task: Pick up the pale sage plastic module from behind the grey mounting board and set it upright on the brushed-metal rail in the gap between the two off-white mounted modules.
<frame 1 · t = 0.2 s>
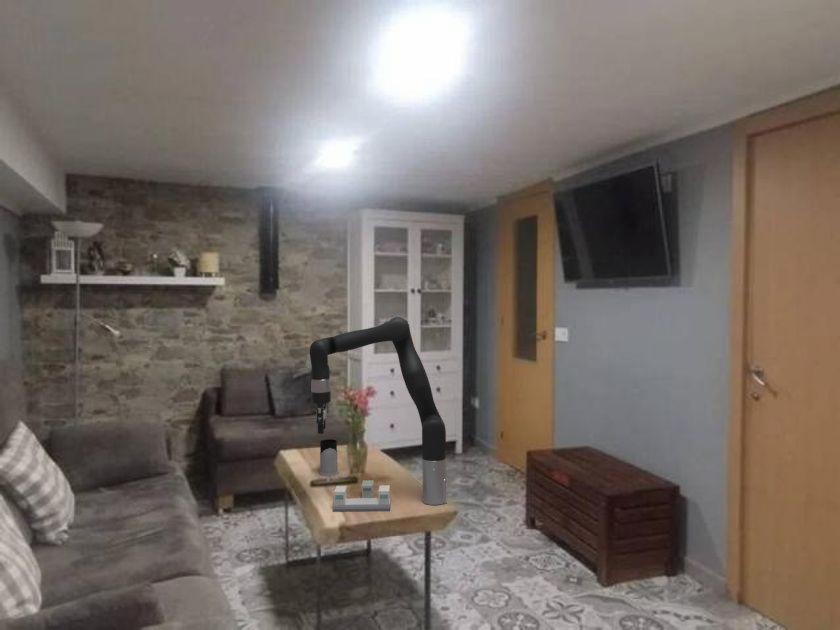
hand: (321, 431, 234), 28 cm above the table, fingers open, 8 cm apart
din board: (362, 505, 231), on the table
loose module: (367, 495, 244), on the table
glass holder: (328, 472, 277), on the table
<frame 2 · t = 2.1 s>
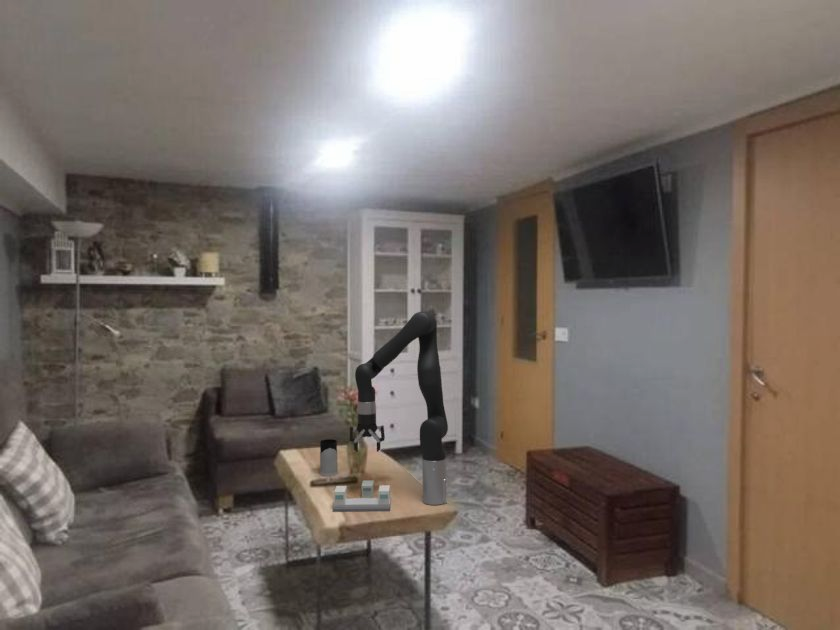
hand: (367, 451, 244), 18 cm above the table, fingers open, 8 cm apart
nothing on the table moved.
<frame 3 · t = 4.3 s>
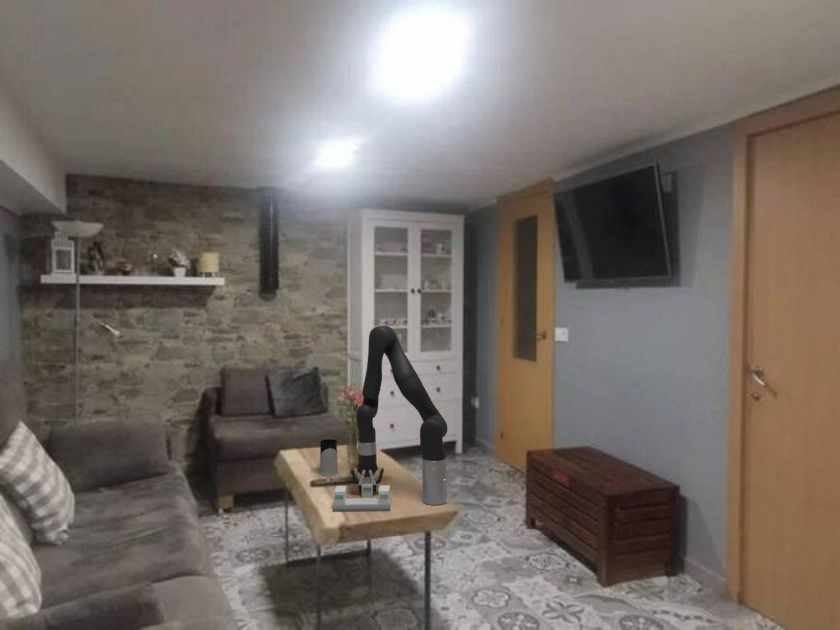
hand: (367, 493, 244), 1 cm above the table, fingers closed on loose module, 4 cm apart
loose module: (367, 494, 245), on the table, touching gripper
everything else where it was.
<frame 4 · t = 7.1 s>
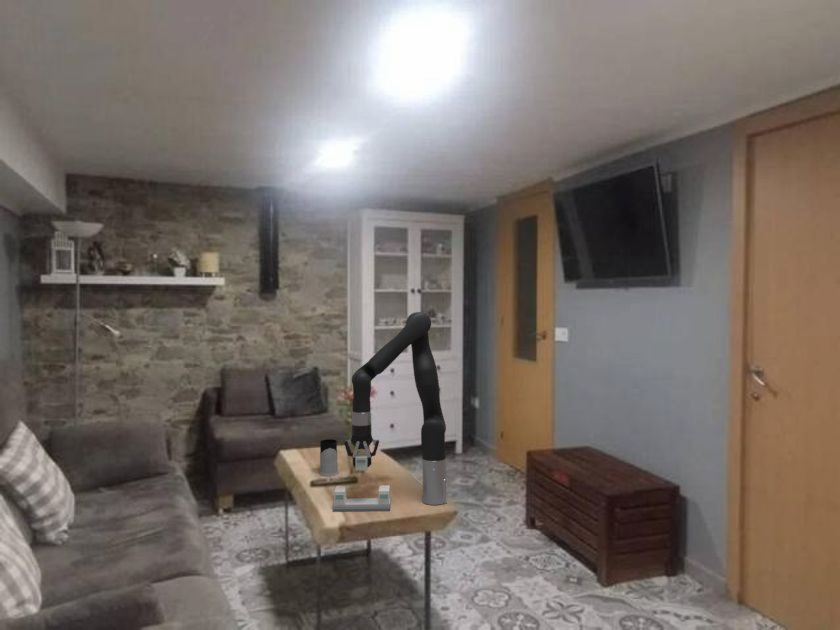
hand: (362, 466, 232), 15 cm above the table, fingers closed on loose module, 4 cm apart
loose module: (362, 467, 232), point 15 cm above the table, touching gripper
everything else where it was.
when the fingers open (4 cm above the table, at t = 10.1 s): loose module drops 1 cm, resting on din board.
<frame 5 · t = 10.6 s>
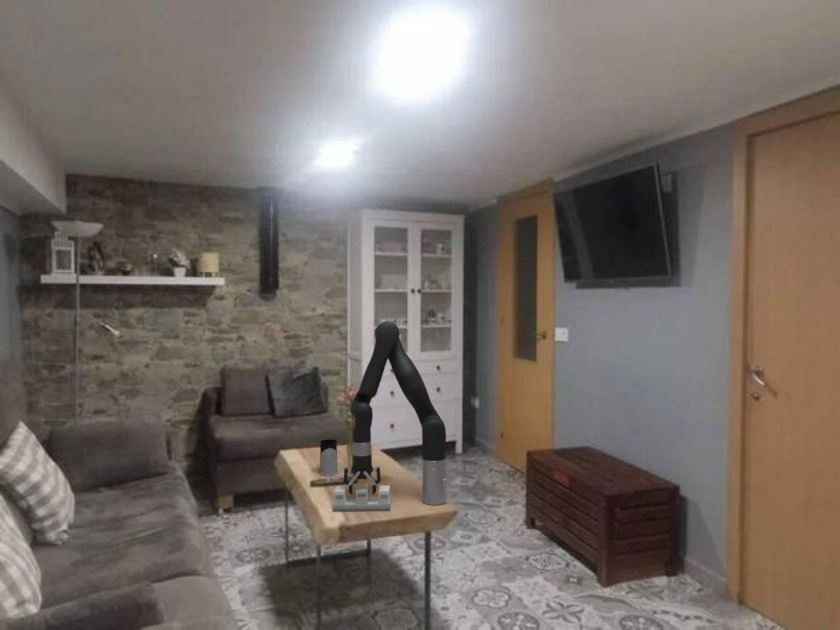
hand: (362, 494, 231), 5 cm above the table, fingers open, 8 cm apart
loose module: (362, 501, 232), point 2 cm above the table, touching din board
everything else where it was.
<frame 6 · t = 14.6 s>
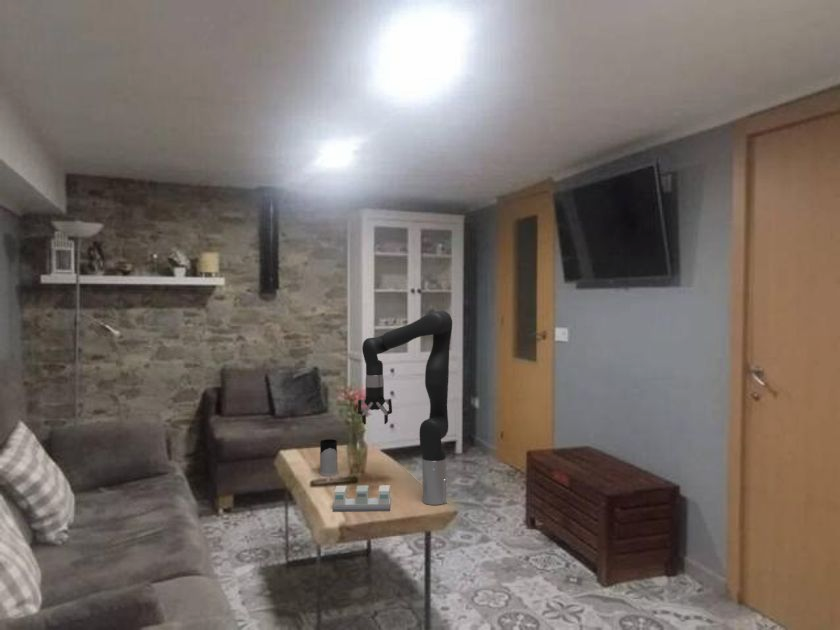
hand: (375, 424, 249), 28 cm above the table, fingers open, 8 cm apart
nothing on the table moved.
at the end: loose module 0.2 cm off-centre on the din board, point 1.8 cm above the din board's base; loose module tilted 0°; the gripper is holding nothing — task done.
